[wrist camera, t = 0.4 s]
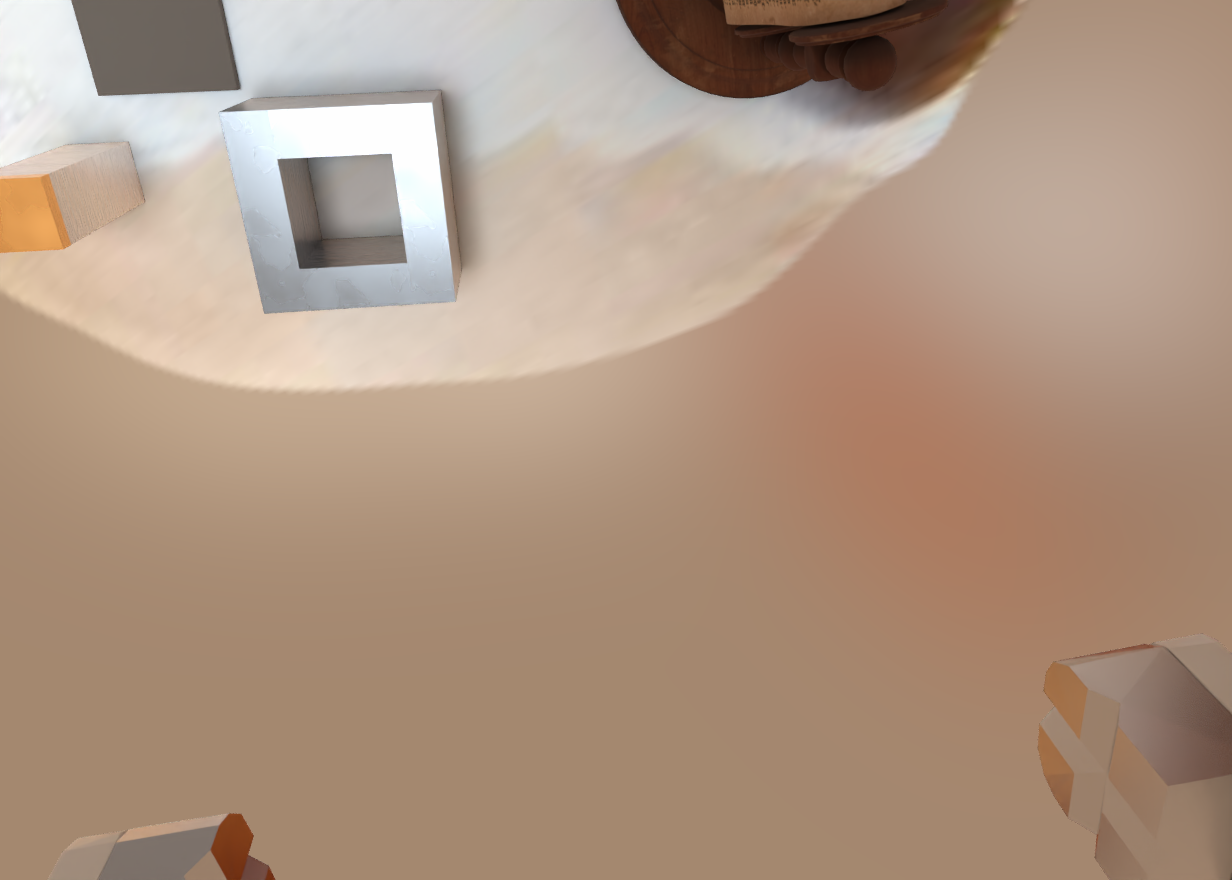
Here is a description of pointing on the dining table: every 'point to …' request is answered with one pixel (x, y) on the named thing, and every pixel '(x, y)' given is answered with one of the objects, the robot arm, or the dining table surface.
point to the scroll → (773, 41)
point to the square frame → (286, 212)
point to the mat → (156, 46)
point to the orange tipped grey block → (65, 195)
